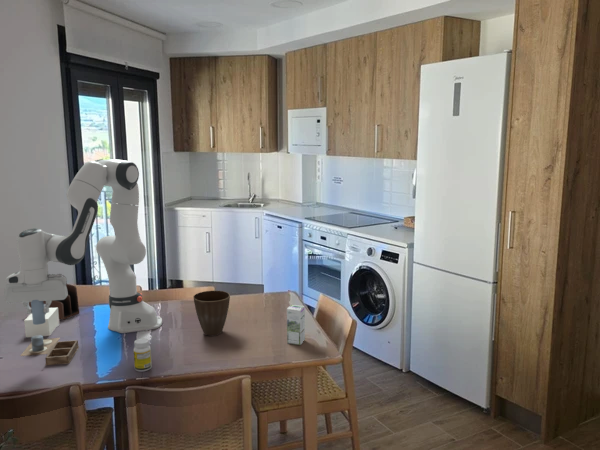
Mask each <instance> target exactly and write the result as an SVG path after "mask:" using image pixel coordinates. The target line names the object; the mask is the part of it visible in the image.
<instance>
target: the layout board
mask: <svg viewBox="0 0 600 450" xmlns="http://www.w3.org/2000/svg"><path fill="white" fill-rule="evenodd" d="M30 340H31V342H30V343H29V344H28V346H27V347H26V348H25V349H24V351H23V352H22V353H21V354H20V355H19V356H20V357H24V356H25V357H27V356H37V355H39V356H40V355H41V356H42V355H48V353H49V352H50V351H51V349H52V348H53V346H54V345H55V343H56V342H59V341H60V340H61V337H53V338H52V337H50V338H44V336H42V335H37V336H33V337H30Z"/></svg>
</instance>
